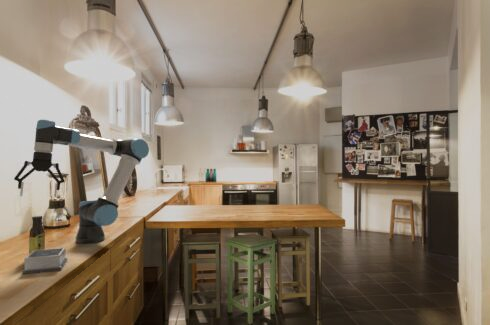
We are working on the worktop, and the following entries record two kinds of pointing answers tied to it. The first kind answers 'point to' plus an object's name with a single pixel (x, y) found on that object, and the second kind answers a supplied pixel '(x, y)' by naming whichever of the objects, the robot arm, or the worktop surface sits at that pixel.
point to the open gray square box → (45, 260)
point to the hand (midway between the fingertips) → (38, 196)
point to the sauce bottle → (37, 235)
